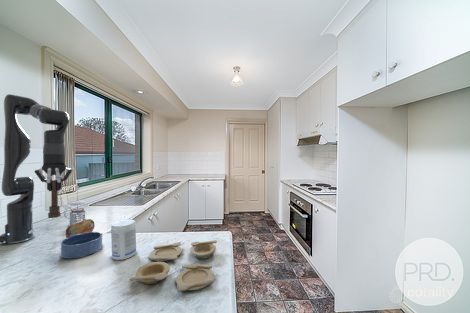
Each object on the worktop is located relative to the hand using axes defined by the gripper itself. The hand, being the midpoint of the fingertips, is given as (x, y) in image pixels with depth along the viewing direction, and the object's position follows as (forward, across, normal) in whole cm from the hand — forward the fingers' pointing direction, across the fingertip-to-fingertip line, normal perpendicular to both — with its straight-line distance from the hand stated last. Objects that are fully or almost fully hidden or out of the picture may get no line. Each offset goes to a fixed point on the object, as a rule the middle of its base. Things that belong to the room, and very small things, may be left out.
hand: (54, 190), depth 93 cm
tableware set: (+28, -48, +40) cm, 68 cm away
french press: (+29, -1, -40) cm, 49 cm away
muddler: (+12, 0, 0) cm, 12 cm away
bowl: (+28, -11, +6) cm, 31 cm away
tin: (+29, -7, -16) cm, 34 cm away
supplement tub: (+28, -28, +20) cm, 44 cm away
